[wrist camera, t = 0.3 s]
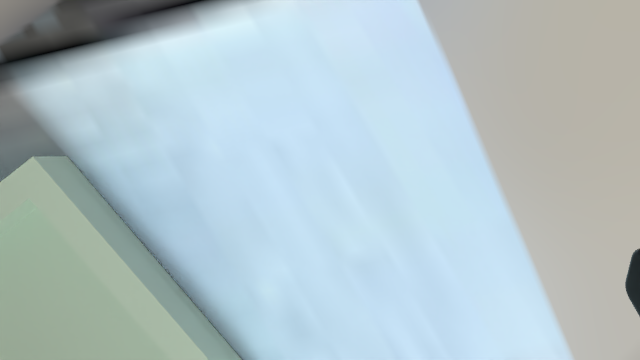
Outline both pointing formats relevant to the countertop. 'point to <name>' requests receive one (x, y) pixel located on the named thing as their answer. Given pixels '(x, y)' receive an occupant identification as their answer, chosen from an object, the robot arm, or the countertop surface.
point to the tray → (86, 278)
